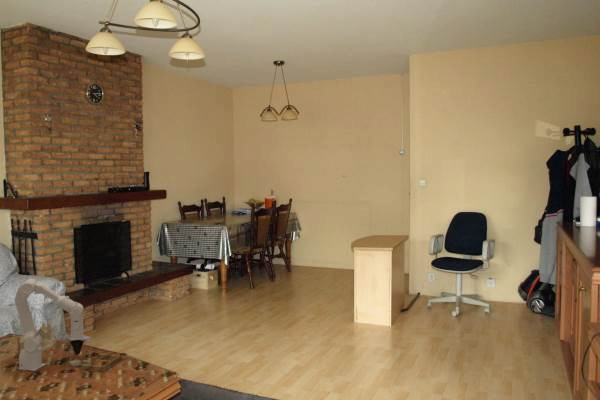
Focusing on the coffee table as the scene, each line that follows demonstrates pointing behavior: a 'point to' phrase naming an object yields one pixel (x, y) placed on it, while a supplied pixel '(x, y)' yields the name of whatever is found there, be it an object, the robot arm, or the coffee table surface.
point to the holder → (104, 368)
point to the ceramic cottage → (45, 335)
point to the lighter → (79, 362)
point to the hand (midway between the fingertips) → (77, 354)
